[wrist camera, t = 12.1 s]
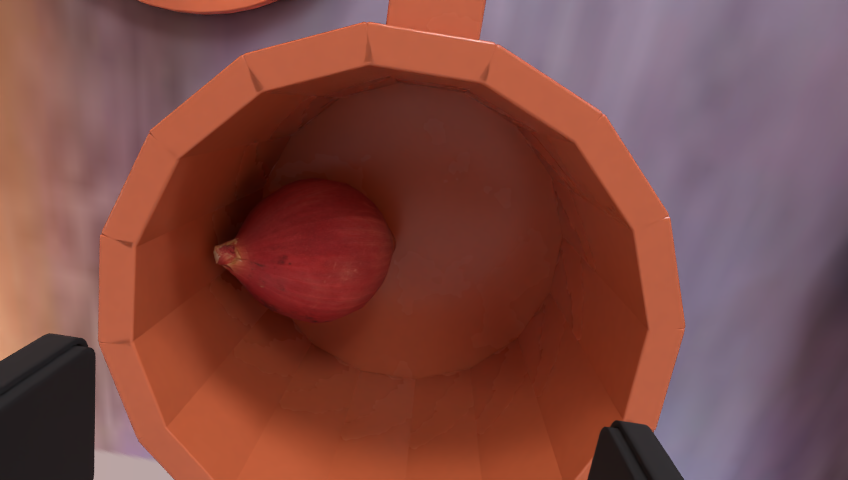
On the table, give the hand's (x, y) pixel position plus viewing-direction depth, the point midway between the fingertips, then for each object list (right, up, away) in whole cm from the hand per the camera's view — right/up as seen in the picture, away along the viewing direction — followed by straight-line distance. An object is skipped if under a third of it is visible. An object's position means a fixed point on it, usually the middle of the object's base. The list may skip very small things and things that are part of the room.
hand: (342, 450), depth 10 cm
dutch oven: (+1, +4, +16) cm, 17 cm away
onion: (0, +4, +15) cm, 15 cm away
